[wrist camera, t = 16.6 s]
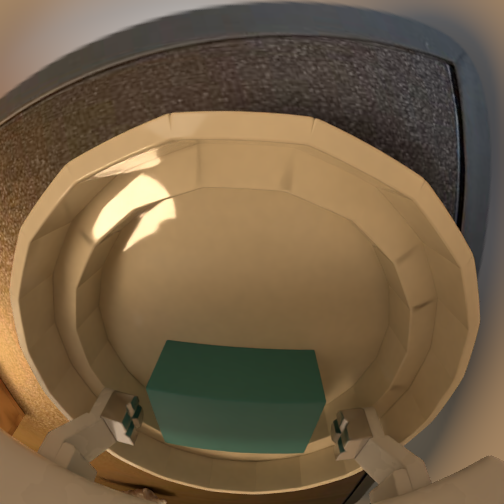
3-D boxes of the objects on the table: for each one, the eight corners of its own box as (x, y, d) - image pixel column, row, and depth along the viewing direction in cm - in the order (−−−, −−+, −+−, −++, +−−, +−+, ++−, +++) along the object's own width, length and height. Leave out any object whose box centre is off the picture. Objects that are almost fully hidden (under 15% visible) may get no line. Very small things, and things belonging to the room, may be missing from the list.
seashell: (165, 482, 21) (156, 498, 17) (176, 503, 20) (169, 520, 17) (79, 473, 20) (65, 483, 17) (90, 493, 19) (78, 505, 16)
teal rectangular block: (166, 338, 10) (144, 388, 8) (314, 349, 10) (327, 401, 8) (177, 398, 12) (164, 443, 9) (299, 407, 12) (304, 453, 9)
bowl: (62, 145, 8) (-23, 155, 4) (445, 165, 8) (530, 184, 4) (119, 407, 13) (95, 462, 9) (359, 424, 13) (374, 482, 9)
